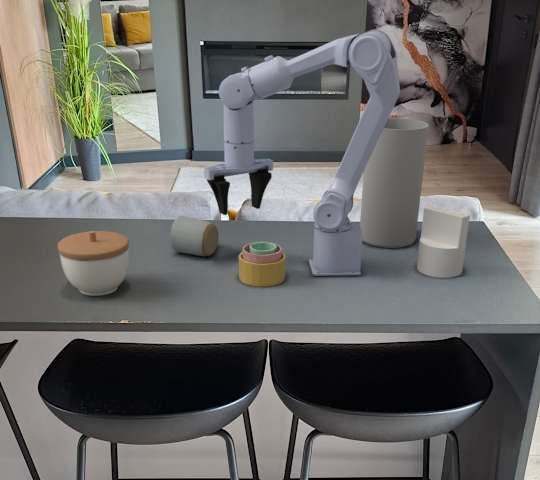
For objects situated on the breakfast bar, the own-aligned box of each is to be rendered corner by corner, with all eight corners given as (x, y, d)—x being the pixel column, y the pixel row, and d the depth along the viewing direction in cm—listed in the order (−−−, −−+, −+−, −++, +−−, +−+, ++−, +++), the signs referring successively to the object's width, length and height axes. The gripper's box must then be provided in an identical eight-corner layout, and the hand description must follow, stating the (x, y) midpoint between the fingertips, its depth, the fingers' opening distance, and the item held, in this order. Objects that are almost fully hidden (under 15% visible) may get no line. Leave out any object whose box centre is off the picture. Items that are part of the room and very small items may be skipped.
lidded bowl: (59, 280, 136) (51, 225, 131) (125, 271, 140) (119, 217, 135) (69, 306, 126) (60, 247, 121) (139, 296, 130) (134, 238, 125)
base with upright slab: (408, 269, 143) (414, 211, 137) (431, 257, 149) (438, 201, 143) (447, 281, 137) (455, 221, 132) (470, 268, 143) (479, 211, 137)
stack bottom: (283, 268, 143) (283, 247, 140) (286, 286, 135) (287, 264, 133) (238, 269, 142) (238, 248, 140) (239, 287, 134) (239, 264, 132)
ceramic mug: (205, 262, 145) (204, 225, 142) (170, 256, 148) (168, 220, 144) (227, 246, 154) (226, 212, 150) (193, 241, 156) (192, 207, 153)
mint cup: (275, 268, 140) (275, 241, 138) (276, 278, 136) (277, 250, 133) (249, 268, 140) (249, 241, 137) (250, 278, 136) (250, 251, 133)
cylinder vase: (382, 252, 151) (393, 132, 139) (347, 235, 160) (355, 121, 148) (427, 243, 156) (441, 126, 144) (391, 227, 166) (402, 116, 154)
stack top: (279, 270, 142) (280, 241, 139) (282, 285, 135) (283, 255, 132) (242, 270, 142) (242, 241, 139) (243, 285, 135) (243, 255, 132)
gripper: (259, 133, 142) (259, 200, 148) (195, 141, 135) (198, 211, 141) (279, 139, 137) (278, 208, 143) (213, 148, 129) (215, 220, 136)
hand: (239, 210), depth 142 cm, fingers open, 7 cm apart
